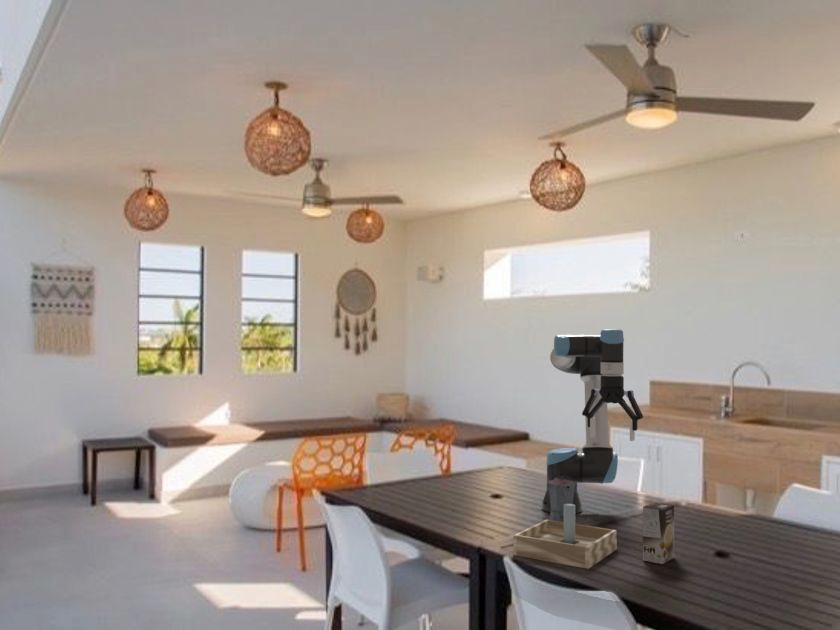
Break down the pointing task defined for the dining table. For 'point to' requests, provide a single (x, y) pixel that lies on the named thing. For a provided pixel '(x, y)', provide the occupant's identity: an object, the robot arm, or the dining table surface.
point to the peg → (569, 523)
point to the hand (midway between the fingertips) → (612, 438)
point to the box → (565, 544)
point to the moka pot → (560, 496)
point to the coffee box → (658, 532)
